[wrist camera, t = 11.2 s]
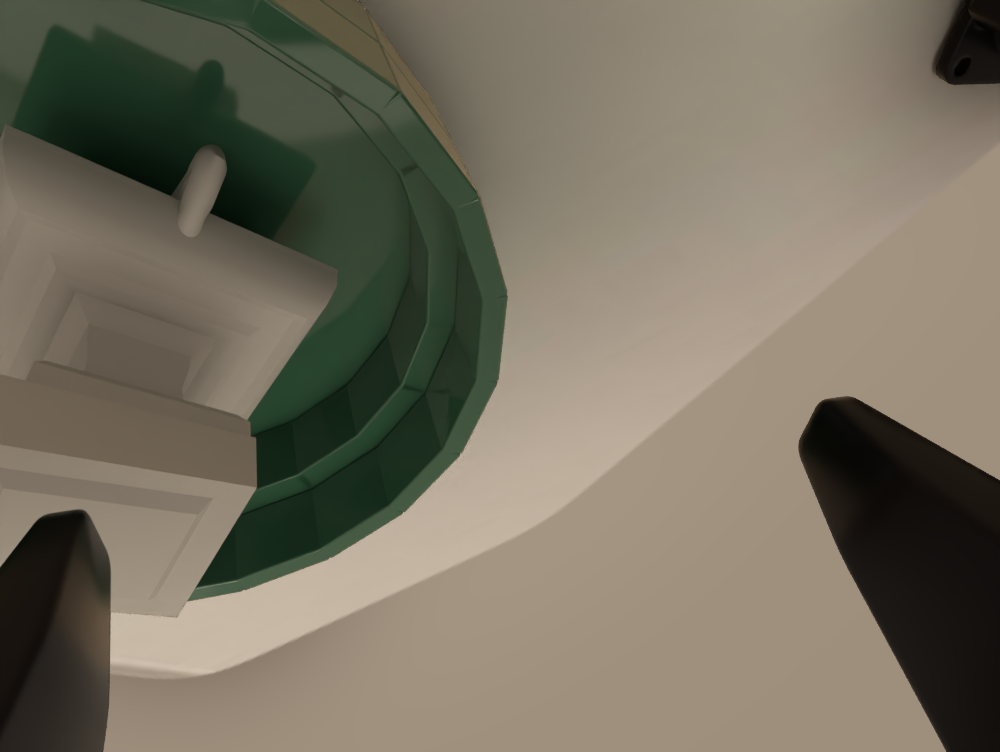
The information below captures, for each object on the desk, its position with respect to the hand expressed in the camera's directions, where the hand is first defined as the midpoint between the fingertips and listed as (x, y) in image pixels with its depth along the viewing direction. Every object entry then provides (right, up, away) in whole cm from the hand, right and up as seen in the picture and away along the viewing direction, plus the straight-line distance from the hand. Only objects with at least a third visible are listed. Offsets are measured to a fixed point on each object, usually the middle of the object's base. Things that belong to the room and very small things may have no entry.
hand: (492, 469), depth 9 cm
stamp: (-9, +4, +9) cm, 13 cm away
